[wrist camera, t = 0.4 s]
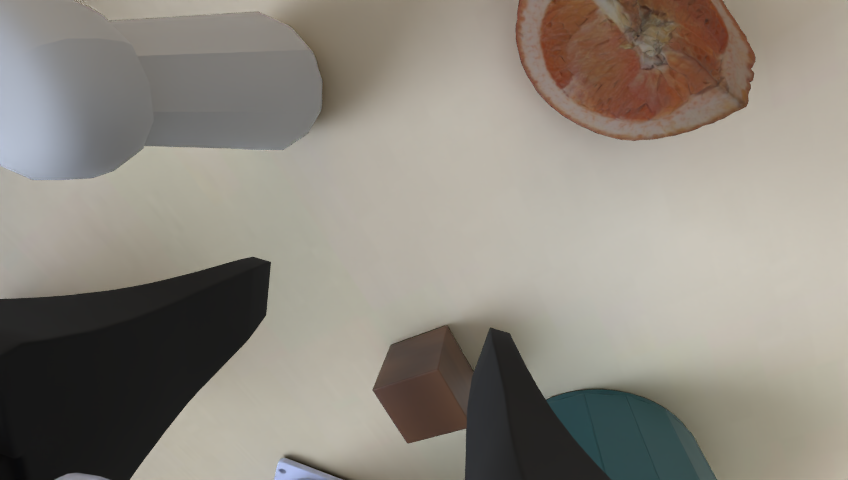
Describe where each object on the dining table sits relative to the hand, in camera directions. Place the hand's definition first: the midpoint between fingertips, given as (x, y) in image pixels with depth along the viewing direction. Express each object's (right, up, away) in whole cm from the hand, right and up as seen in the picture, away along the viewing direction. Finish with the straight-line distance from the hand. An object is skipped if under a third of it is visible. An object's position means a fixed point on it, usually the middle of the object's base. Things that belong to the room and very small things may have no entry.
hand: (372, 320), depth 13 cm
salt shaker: (-5, +10, +8) cm, 14 cm away
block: (+2, -5, +12) cm, 13 cm away
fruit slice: (+10, +11, +5) cm, 15 cm away
